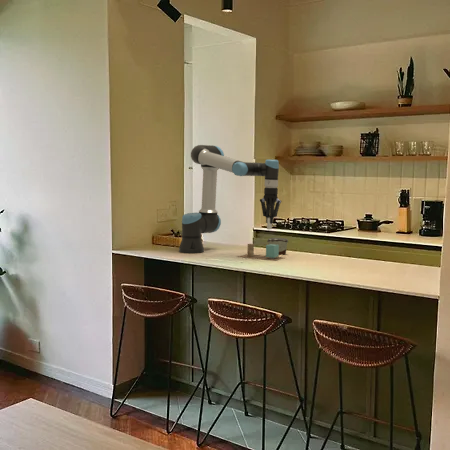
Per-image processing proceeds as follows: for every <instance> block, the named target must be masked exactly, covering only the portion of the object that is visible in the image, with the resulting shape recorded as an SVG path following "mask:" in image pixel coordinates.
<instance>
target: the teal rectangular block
mask: <svg viewBox="0 0 450 450" xmlns="http://www.w3.org/2000/svg"><path fill="white" fill-rule="evenodd" d="M265 256H266V257H272V258H275V257H280V256H279V245H275V244H266V245H265Z"/></svg>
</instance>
